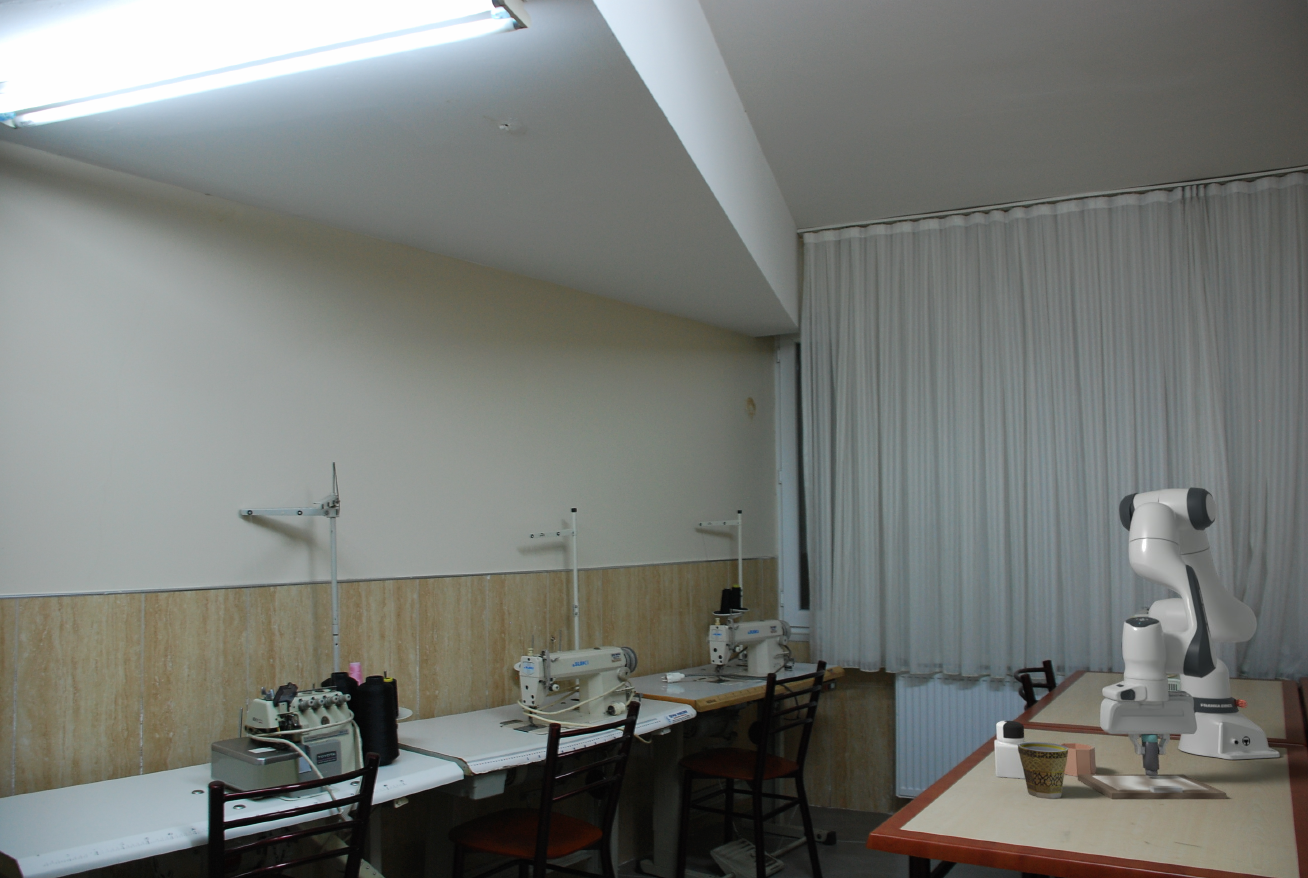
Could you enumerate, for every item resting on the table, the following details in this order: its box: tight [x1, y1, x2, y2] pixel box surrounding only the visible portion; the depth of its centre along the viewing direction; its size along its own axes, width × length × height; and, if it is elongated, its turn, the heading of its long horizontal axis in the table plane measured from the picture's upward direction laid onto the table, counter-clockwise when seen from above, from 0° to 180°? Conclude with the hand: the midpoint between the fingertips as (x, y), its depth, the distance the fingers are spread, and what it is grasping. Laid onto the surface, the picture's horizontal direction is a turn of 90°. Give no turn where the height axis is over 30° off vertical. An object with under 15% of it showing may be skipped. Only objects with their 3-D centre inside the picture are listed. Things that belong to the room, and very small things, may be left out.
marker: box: [1140, 734, 1160, 777], centre depth 207 cm, size 3×3×9 cm
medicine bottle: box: [994, 720, 1026, 780], centre depth 216 cm, size 7×7×12 cm
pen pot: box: [1058, 742, 1097, 777], centre depth 218 cm, size 8×8×6 cm
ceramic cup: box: [1018, 741, 1068, 800], centre depth 200 cm, size 13×10×10 cm
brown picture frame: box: [1077, 773, 1227, 800], centre depth 202 cm, size 24×16×2 cm, turn 90°
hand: (1150, 754), depth 207 cm, fingers closed on marker, 3 cm apart
